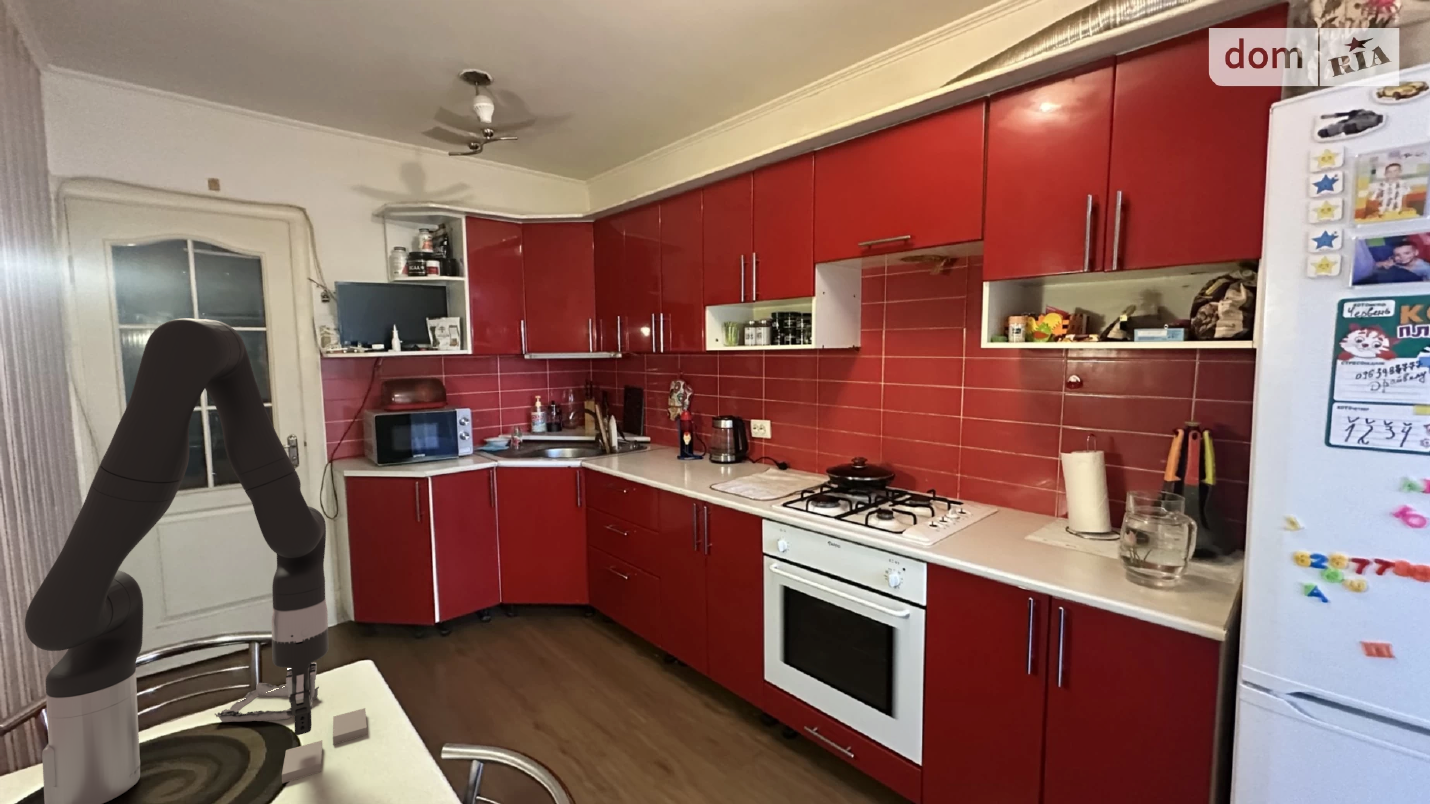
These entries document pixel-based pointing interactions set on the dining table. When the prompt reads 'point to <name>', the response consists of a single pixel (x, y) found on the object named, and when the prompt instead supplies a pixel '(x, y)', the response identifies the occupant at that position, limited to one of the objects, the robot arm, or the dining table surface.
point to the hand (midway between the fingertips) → (303, 731)
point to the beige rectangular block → (349, 726)
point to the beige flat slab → (302, 761)
